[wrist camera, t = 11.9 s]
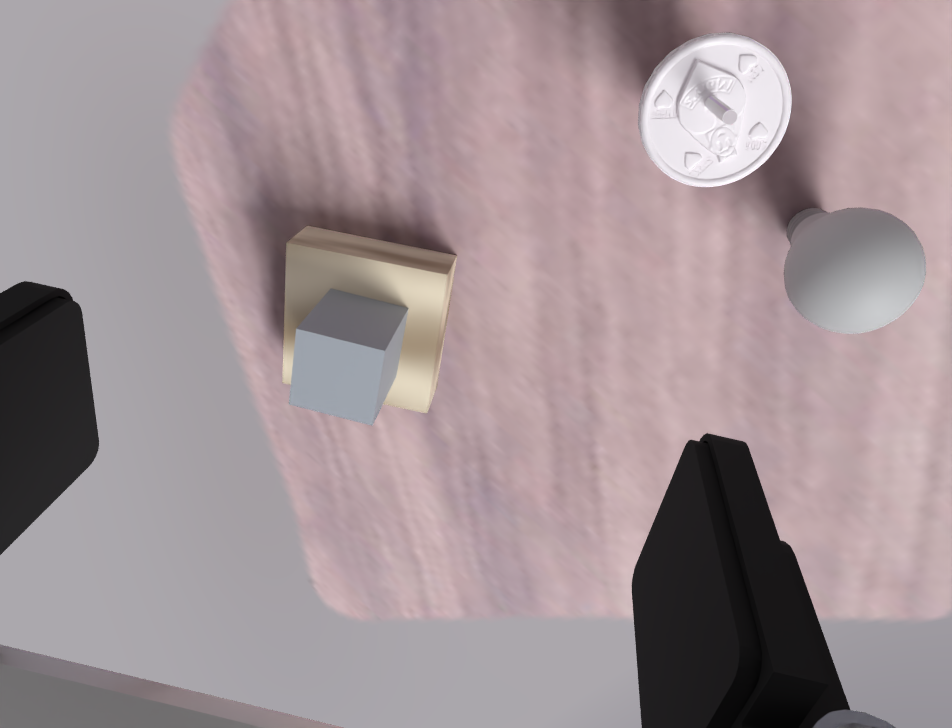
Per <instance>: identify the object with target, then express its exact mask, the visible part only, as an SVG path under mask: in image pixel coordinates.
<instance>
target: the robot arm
mask: <svg viewBox="0 0 952 728" xmlns="http://www.w3.org/2000/svg"><path fill="white" fill-rule="evenodd" d="M98 447H99V438H98V430H97V423H96V415H95V408H94V400H93V393H92V385H91V377H90V369H89V363H88V355H87V347H86V339H85V331H84V324H83V318H82V311H81V308H80V306H79V304H78V303H76V302H75V301H73V299H72V297H71V295H70V294H69V292H67V291H66V290H64V289H60V288H56V287H50V286H46V285H42V284H38V283H33V282H25V281H24V282H21V283H18V284H16V285H14V286H13V287H11V288H9V289H7V290H5V291H3V292H2V293H0V555H1V554H2V553H3V552H4V551H5V550H6V549H7V548H8V547H9V546H10V544H12V543H13V542H14V540H16V539H17V538H18V537H19V536H20V535H21V534H22V533H23V532H24V531H25V530H26V529H27V528H28V527H29V526H30V525H31V524H32V523H33V522H34V521H35V520H36V519H37V518H38V517H39V516H40V515H41V514H42V513H43V512H44V511H45V510H46V509H47V508H48V507H49V506H50V505H51V504H52V503H53V502H54V501H55V500H56V499H57V498H58V497H59V496H60V495H61V494H62V493H63V492H64V491H65V490H66V489H67V488H68V487H69V486H70V485H71V484H72V483H73V482H74V481H75V480H76V479H77V478H78V477H79V476H80V475H81V474H82V473H83V472H84V471H85V470H86V469H87V468H88V467H89V466H90V464H91V463H92V462H93V461H94V458H95V457H96V454H97V451H98ZM632 600H633V613H634V625H635V626H634V627H635V640H636V653H637V667H638V681H639V694H640V708H641V720H642V721H641V722H642V728H896V727H894V726H893V725H891V724H890V723H888V722H886V721H884V720H882V719H879V718H877V717H875V716H872V715H870V714H867V713H864V712H858V711H852V710H850V708H849V705H848V702H847V699H846V696H845V694H844V691H843V688H842V685H841V682H840V680H839V677H838V674H837V671H836V668H835V666H834V663H833V660H832V657H831V654H830V652H829V649H828V646H827V643H826V640H825V638H824V635H823V632H822V630H821V626H820V624H819V621H818V618H817V615H816V612H815V610H814V607H813V604H812V601H811V598H810V596H809V593H808V590H807V587H806V584H805V582H804V579H803V576H802V573H801V570H800V568H799V565H798V562H797V559H796V556H795V554H794V552H793V550H792V548H791V546H790V545H788V544H787V543H786V542H784V541H780V539H779V536H778V533H777V530H776V527H775V524H774V521H773V518H772V515H771V513H770V510H769V507H768V504H767V501H766V498H765V495H764V492H763V489H762V486H761V483H760V480H759V477H758V474H757V471H756V468H755V465H754V462H753V460H752V457H751V454H750V451H749V448H748V446H747V444H746V443H745V442H743V441H739V440H734V439H730V438H725V437H721V436H717V435H712V434H708V433H707V434H705V435H703V437H702V438H701V439H700V441H694V440H689V441H688V443H687V444H686V446H685V448H684V450H683V453H682V455H681V457H680V460H679V462H678V465H677V467H676V470H675V472H674V474H673V477H672V479H671V482H670V484H669V486H668V489H667V491H666V494H665V496H664V498H663V501H662V503H661V506H660V508H659V511H658V513H657V515H656V518H655V520H654V523H653V525H652V527H651V530H650V532H649V535H648V537H647V539H646V542H645V544H644V547H643V549H642V552H641V554H640V556H639V559H638V561H637V564H636V566H635V569H634V574H633V579H632ZM0 728H343V727H339V726H334V725H330V724H326V723H322V722H318V721H314V720H310V719H306V718H302V717H298V716H294V715H290V714H286V713H282V712H278V711H273V710H269V709H265V708H261V707H257V706H253V705H249V704H245V703H241V702H236V701H232V700H228V699H224V698H219V697H216V696H212V695H208V694H203V693H199V692H195V691H191V690H187V689H182V688H179V687H175V686H170V685H166V684H162V683H158V682H154V681H150V680H146V679H141V678H137V677H133V676H128V675H125V674H121V673H116V672H112V671H108V670H104V669H100V668H96V667H91V666H87V665H83V664H79V663H75V662H71V661H66V660H62V659H58V658H54V657H50V656H45V655H41V654H37V653H33V652H29V651H25V650H20V649H16V648H12V647H8V646H3V645H0Z"/></svg>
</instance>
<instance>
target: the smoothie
mask: <svg viewBox="0 0 952 728" xmlns="http://www.w3.org/2000/svg"><path fill="white" fill-rule="evenodd" d="M791 106H792V95H791V88H790V83H789V79H788V76H787V74H786V72H785V69H784V67H783V66H782V64H781V63H780V61H779V60H778V59H777V57H776V56H775V55H774V54H773V53H772V52H771V51H770V50H769V49H767V48H766V47H765V46H763V45H762V44H760V43H758V42H756V41H755V40H753V39H751V38H750V37H747V36H743V35H738V34H734V33H730V32H728V33H709V34H706V35H703V36H700V37H697V38H694V39H691V40H688V41H687V42H685V43H684V44H682V45H680V46H679V47H677V48H676V49H674V50H673V51H671V52H670V53H669V54H668V55H667V56H666V57H665V58H664V59H663V60H662V61H661V62H660V63H659V64H658V65H657V66H656V68H655V69H654V71H653V73H652V74H651V76H650V78H649V79H648V81H647V83H646V85H645V87H644V90H643V93H642V97H641V100H640V103H639V114H638V127H639V132H640V136H641V141H642V144H643V146H644V148H645V150H646V152H647V153H648V155H649V157H650V159H651V160H652V161H653V162H654V163H655V164H656V165H657V166H658V167H659V168H660V169H661V170H662V171H663V172H664V173H665V174H667V175H668V176H669V177H671V178H673V179H674V180H677V181H679V182H681V183H684V184H687V185H691V186H697V187H715V186H721V185H725V184H729V183H732V182H735V181H737V180H739V179H742V178H744V177H745V176H747V175H749V174H750V173H752V172H753V171H755V170H756V169H757V168H759V167H760V166H761V165H762V164H763V163H764V162H765V161H766V160H767V159H768V158H769V157H770V156H771V155H772V153H773V152H774V151H775V149H776V148H777V147H778V145H779V143H780V142H781V140H782V138H783V136H784V134H785V131H786V129H787V126H788V123H789V119H790V114H791Z"/></svg>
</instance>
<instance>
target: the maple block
mask: <svg viewBox="0 0 952 728" xmlns="http://www.w3.org/2000/svg"><path fill="white" fill-rule="evenodd" d="M456 259H457V255H452V254H447V253H442V252H437V251H432V250H427V249H422V248H417V247H412V246H407V245H402V244H397V243H392V242H387V241H382V240H377V239H372V238H367V237H362V236H357V235H352V234H347V233H342V232H337V231H332V230H327V229H322V228H317V227H312V226H306V227H305V228H304V229H302V230H301V231H300V232H299V233H297V234H296V235H295V236H294V237H293V238H291V239H290V240H289V241H288V242H287V243H286V274H285V309H284V345H283V381H282V383H284V384H289V385H291V378H292V367H293V357H294V346H295V336H296V328H297V327H298V326H299V325H300V324H301V322H302V321H303V320H304V319H305V318H306V317H307V315H308V314H309V313H310V312H311V311H312V310H313V308H314V307H315V306H316V305H317V304H318V303H319V301H320V300H321V299H322V298H323V297H324V296H325V294H326V293H327V292H328V291H329V290H330V289H331V288H332V289H335V290H339V291H343V292H347V293H351V294H355V295H359V296H363V297H367V298H371V299H375V300H379V301H383V302H387V303H391V304H395V305H399V306H403V307H407V308H409V309H408V315H407V320H406V326H405V331H404V337H403V342H402V348H401V353H400V359H399V364H398V370H397V376H396V378H395V380H394V382H393V384H392V386H391V388H390V390H389V392H388V394H387V397H386V399H385V401H384V403H383V404H384V405H389V406H394V407H399V408H404V409H408V410H413V411H418V412H423V413H427V412H428V409H429V407H430V404H431V401H432V399H433V396H434V393H435V391H436V388H437V383H438V376H439V370H440V363H441V357H442V350H443V344H444V337H445V331H446V324H447V318H448V311H449V305H450V298H451V292H452V285H453V278H454V272H455V265H456Z"/></svg>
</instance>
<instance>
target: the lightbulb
mask: <svg viewBox="0 0 952 728" xmlns="http://www.w3.org/2000/svg"><path fill="white" fill-rule="evenodd" d="M787 237H788V240H789V242H790V244H791V248H790V250H789V251H788V254H787V257H786V260H785V266H784V282H785V289H786V292H787V295H788V298H789V300H790V301H791V303H792V304H793V306H794V307H795V309H796V310H797V311H798V312H799V313H800V314H801V315H802V316H803V317H804V318H805V319H806V320H808V321H810V322H811V323H813V324H815V325H816V326H818V327H820V328H823V329H826V330H829V331H832V332H838V333H845V334H858V333H864V332H869V331H873V330H875V329H878V328H881V327H883V326H885V325H887V324H889V323H891V322H893V321H894V320H896V319H897V318H898V317H900V316H901V315H902V314H904V313H905V311H906V310H907V309H908V308H909V307H910V306H911V305H912V304H913V303H914V301H915V300H916V298H917V297H918V295H919V293H920V291H921V289H922V286H923V284H924V280H925V275H926V260H925V255H924V251H923V247H922V245H921V243H920V241H919V240H918V238H917V236H916V234H915V233H914V231H913V230H912V229H911V228H910V227H909V226H908V225H907V224H906V223H904V222H903V221H901V220H900V219H898V218H897V217H895V216H893V215H892V214H890V213H887V212H884V211H881V210H876V209H869V208H847V209H842V210H838V211H834V212H832V213H828V212H826V211H824V210H822V209H819V208H809V209H805V210H802V211H800V212H799V213H797V214H796V215H795V216H794V217H793V218H792V219H791V221H790V222H789V224H788V227H787Z"/></svg>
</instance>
